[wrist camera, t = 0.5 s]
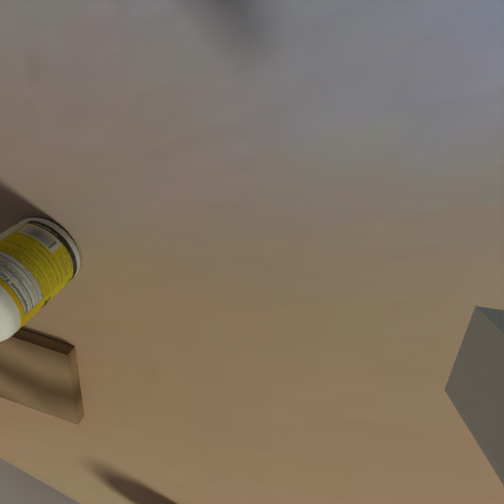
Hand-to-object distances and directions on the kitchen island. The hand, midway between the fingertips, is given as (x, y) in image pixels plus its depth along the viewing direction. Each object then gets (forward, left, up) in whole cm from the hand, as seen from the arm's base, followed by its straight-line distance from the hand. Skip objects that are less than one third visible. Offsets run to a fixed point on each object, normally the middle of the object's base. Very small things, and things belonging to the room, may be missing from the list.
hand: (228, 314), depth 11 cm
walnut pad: (+26, -21, -13) cm, 36 cm away
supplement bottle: (+11, -17, -13) cm, 24 cm away
